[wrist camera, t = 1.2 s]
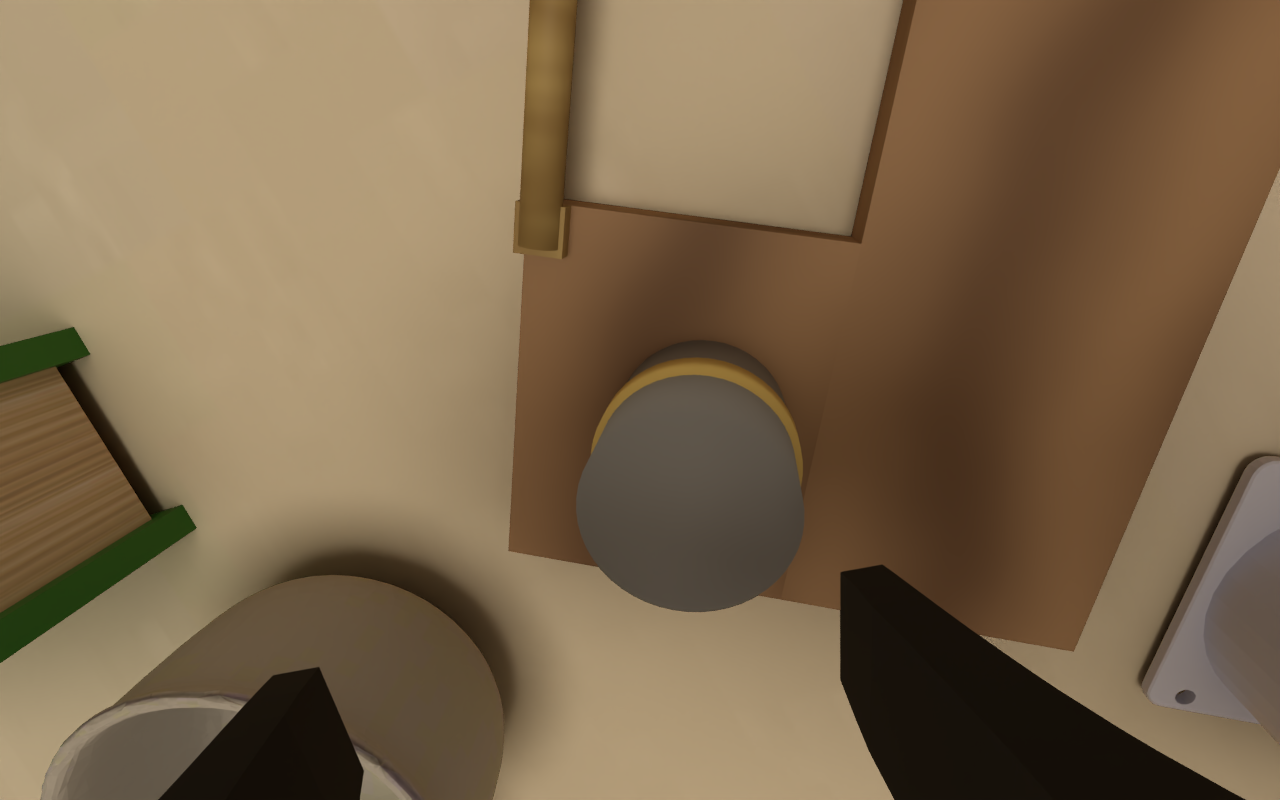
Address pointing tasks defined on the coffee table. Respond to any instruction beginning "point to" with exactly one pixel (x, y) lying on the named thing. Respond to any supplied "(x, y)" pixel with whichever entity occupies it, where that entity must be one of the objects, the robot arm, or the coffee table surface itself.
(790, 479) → the gold-banded grey cylinder
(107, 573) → the hardback book
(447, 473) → the coffee table surface
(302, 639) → the teacup
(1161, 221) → the shelf board
